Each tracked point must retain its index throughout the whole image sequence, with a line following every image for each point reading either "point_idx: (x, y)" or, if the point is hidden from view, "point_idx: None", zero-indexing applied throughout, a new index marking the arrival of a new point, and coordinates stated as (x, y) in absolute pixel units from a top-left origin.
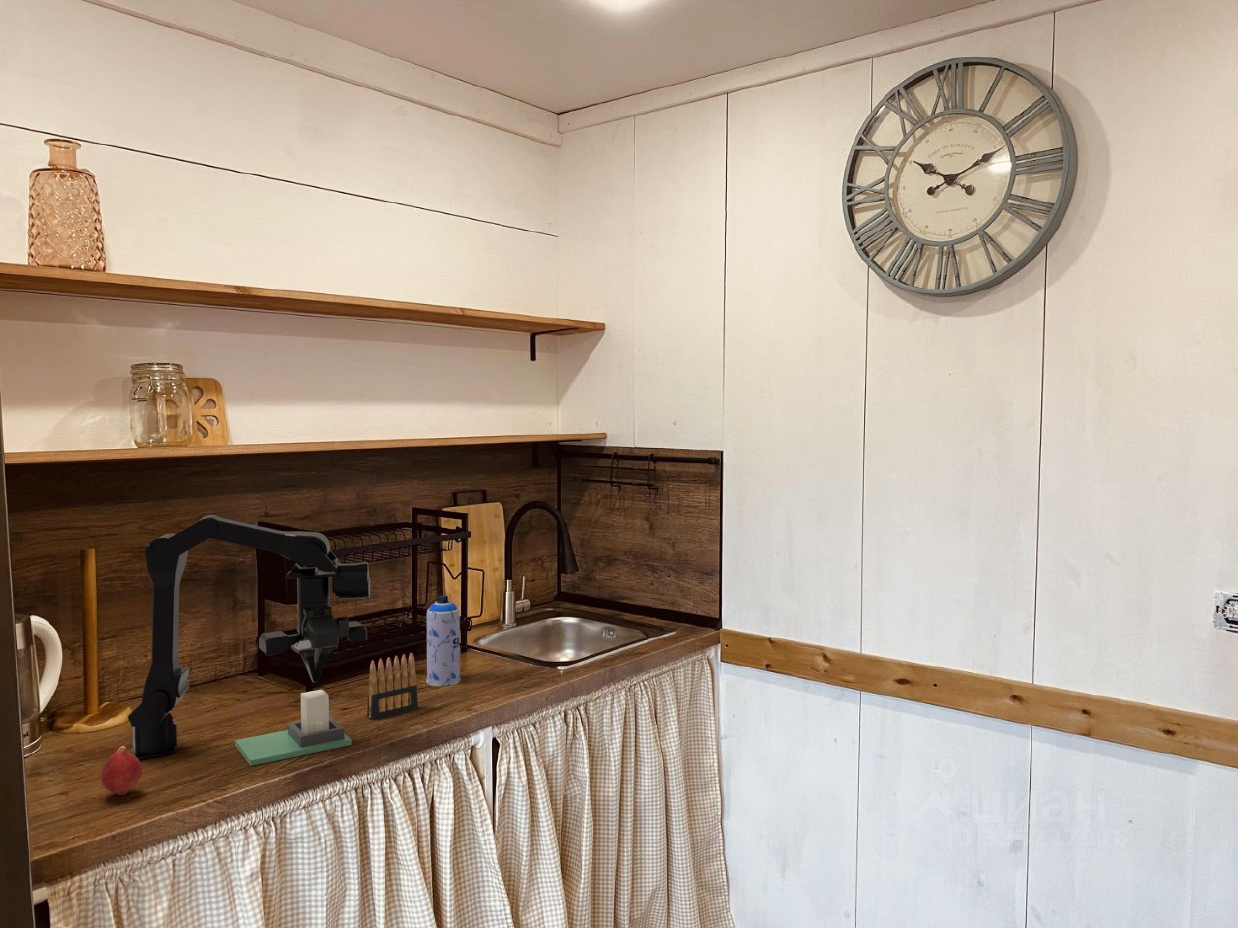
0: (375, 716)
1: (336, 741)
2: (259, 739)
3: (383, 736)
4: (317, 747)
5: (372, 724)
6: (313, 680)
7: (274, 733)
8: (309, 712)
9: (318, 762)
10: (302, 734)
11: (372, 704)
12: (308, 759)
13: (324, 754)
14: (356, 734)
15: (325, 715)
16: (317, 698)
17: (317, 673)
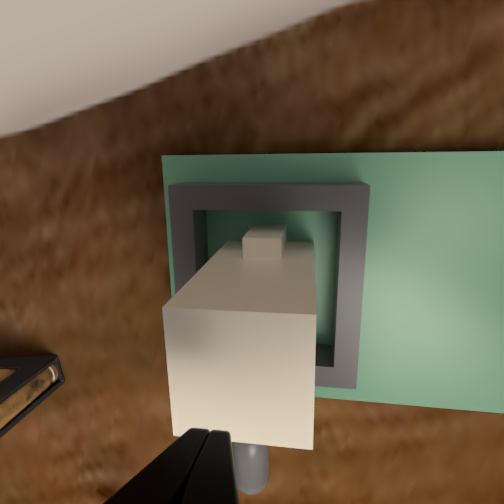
0: (37, 360)
1: (218, 168)
2: (465, 368)
3: (51, 176)
4: (301, 154)
5: (62, 314)
6: (228, 441)
7: (391, 394)
8: (302, 278)
9: (336, 27)
10: (351, 214)
11: (12, 386)
12: (359, 89)
13: (287, 110)
14: (129, 253)
15: (220, 265)
16: (241, 306)
17: (167, 486)
